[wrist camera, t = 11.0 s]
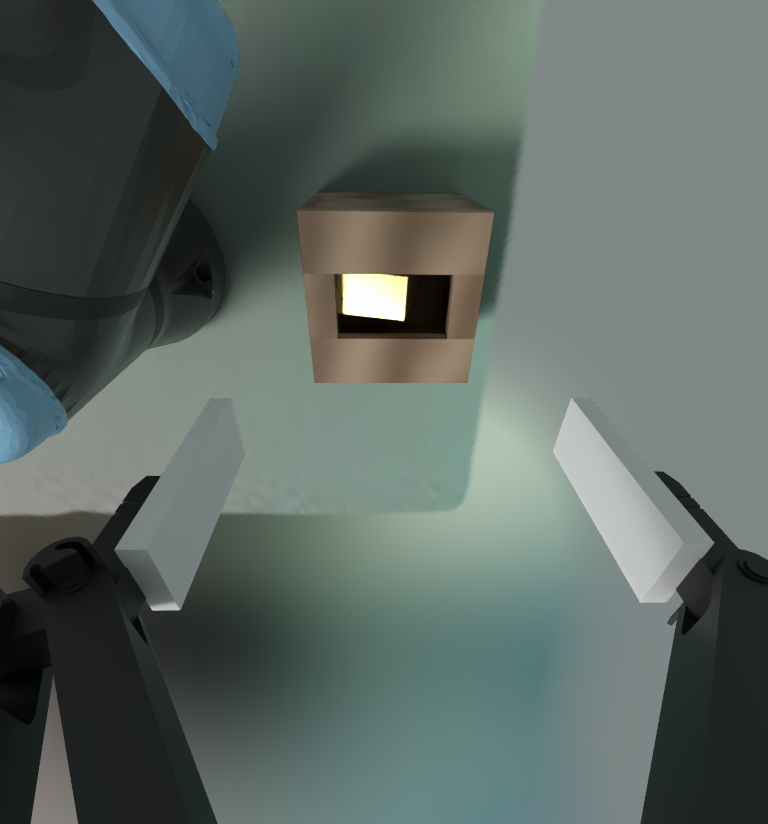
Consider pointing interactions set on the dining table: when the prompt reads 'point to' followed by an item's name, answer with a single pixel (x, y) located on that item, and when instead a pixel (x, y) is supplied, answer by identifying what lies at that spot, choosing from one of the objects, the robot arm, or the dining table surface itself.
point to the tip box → (395, 254)
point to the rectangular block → (376, 294)
